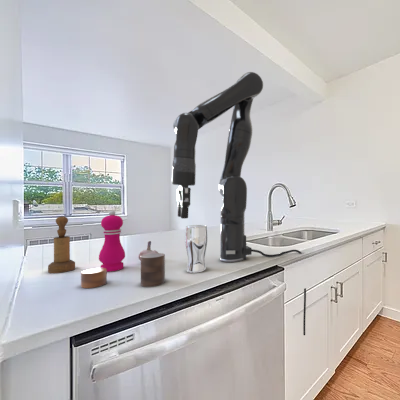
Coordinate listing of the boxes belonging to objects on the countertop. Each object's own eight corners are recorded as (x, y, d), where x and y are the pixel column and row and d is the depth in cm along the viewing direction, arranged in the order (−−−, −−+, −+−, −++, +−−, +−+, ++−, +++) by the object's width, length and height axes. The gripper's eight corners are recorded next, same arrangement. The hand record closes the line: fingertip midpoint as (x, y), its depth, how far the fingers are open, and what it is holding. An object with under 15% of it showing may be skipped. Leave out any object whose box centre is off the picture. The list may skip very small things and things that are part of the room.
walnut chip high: (163, 265, 77) (163, 252, 77) (165, 270, 72) (165, 256, 72) (140, 268, 74) (140, 254, 73) (140, 273, 68) (140, 258, 68)
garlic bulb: (148, 259, 100) (148, 239, 100) (165, 260, 98) (165, 239, 98) (132, 264, 92) (132, 242, 92) (150, 265, 91) (150, 243, 91)
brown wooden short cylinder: (107, 280, 75) (107, 266, 75) (105, 285, 70) (105, 271, 70) (83, 283, 72) (82, 269, 72) (79, 289, 67) (79, 274, 67)
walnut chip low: (163, 278, 77) (163, 265, 77) (165, 284, 72) (165, 270, 72) (140, 281, 74) (140, 268, 74) (140, 288, 69) (140, 273, 68)
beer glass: (181, 270, 86) (181, 225, 85) (201, 266, 90) (202, 224, 90) (190, 274, 81) (190, 227, 80) (210, 270, 86) (211, 226, 85)
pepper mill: (111, 273, 82) (111, 211, 82) (93, 271, 83) (92, 210, 83) (130, 267, 89) (130, 210, 89) (113, 265, 90) (113, 209, 90)
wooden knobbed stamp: (45, 274, 80) (45, 217, 80) (50, 269, 85) (49, 216, 85) (74, 271, 84) (73, 216, 84) (76, 266, 89) (76, 215, 89)
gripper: (199, 170, 85) (197, 219, 85) (191, 174, 97) (190, 216, 97) (174, 168, 81) (173, 219, 81) (170, 172, 93) (168, 216, 93)
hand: (182, 217), depth 89 cm, fingers open, 8 cm apart
